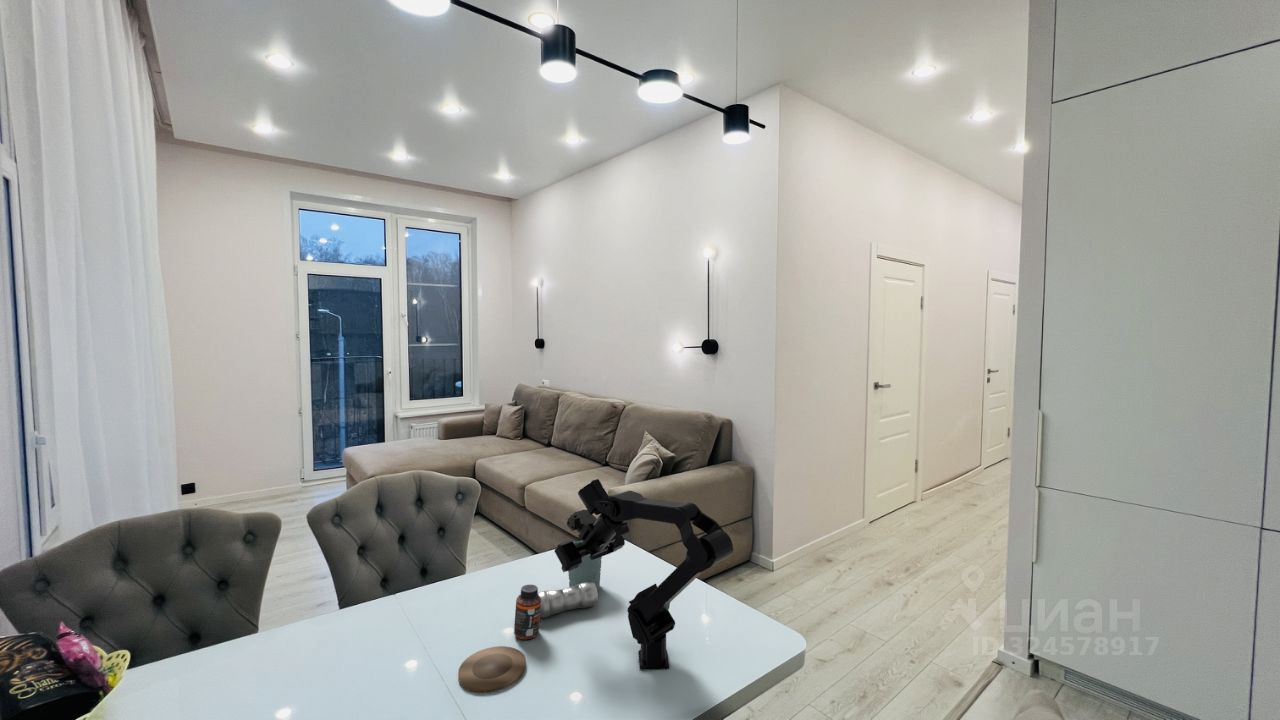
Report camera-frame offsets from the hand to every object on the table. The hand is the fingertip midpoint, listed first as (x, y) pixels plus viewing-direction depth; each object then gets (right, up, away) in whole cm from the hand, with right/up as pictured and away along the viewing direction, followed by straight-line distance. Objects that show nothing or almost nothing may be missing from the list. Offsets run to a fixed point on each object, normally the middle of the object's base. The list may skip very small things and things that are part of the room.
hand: (577, 564), depth 131 cm
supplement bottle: (-12, -14, -7) cm, 20 cm away
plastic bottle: (+4, -11, +8) cm, 14 cm away
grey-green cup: (0, -13, +16) cm, 21 cm away
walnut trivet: (-16, -15, -20) cm, 30 cm away
